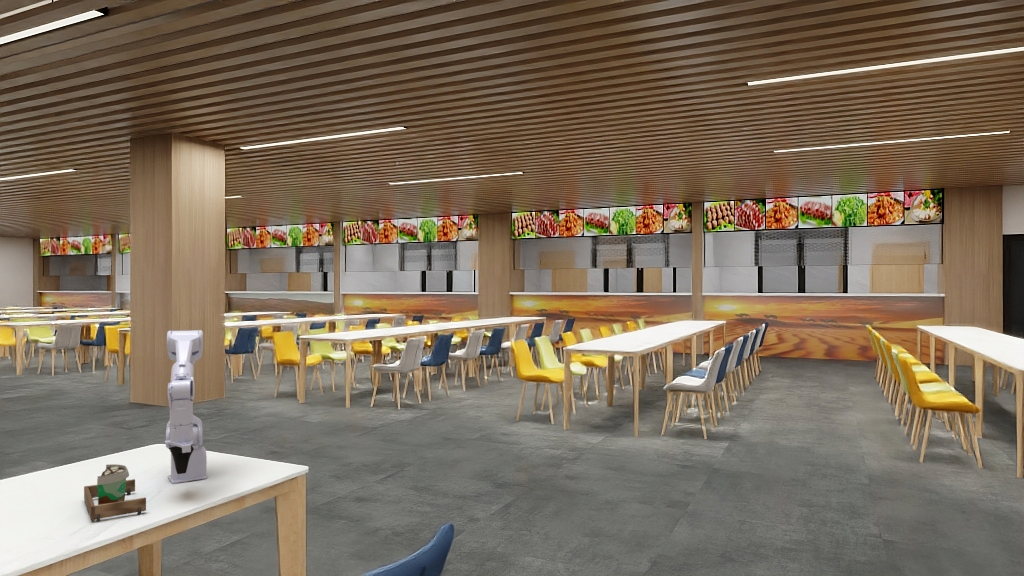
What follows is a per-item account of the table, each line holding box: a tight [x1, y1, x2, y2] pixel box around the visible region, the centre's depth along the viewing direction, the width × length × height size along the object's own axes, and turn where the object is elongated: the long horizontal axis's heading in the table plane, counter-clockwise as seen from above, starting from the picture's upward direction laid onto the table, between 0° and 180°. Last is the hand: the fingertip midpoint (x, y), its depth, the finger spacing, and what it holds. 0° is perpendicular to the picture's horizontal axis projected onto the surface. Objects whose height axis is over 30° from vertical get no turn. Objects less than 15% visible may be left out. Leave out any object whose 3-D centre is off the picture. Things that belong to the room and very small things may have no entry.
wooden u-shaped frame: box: [83, 478, 147, 522], centre depth 183 cm, size 12×21×4 cm, turn 36°
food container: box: [96, 463, 130, 505], centre depth 182 cm, size 12×6×10 cm, turn 20°
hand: (181, 473), depth 192 cm, fingers closed
